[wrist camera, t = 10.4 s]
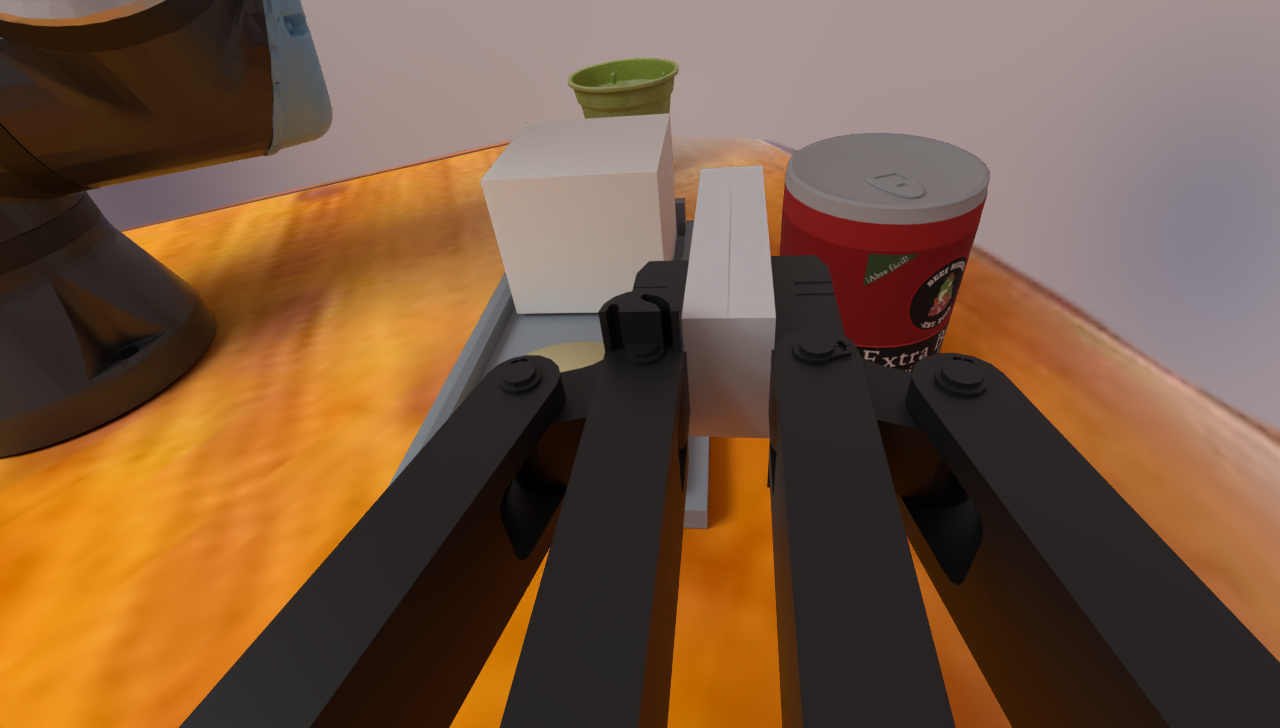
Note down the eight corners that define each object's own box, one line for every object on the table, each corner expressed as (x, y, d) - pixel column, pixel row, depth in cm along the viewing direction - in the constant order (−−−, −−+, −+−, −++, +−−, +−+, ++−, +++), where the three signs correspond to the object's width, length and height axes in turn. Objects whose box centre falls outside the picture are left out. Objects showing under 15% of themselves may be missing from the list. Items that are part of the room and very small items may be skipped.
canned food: (850, 450, 26) (895, 228, 19) (741, 359, 32) (745, 162, 25) (964, 384, 29) (1040, 167, 22) (844, 311, 34) (875, 119, 27)
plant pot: (566, 191, 52) (548, 87, 47) (605, 152, 59) (592, 58, 53) (666, 196, 49) (659, 86, 44) (694, 155, 56) (691, 55, 51)
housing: (667, 311, 33) (656, 171, 28) (516, 313, 35) (479, 180, 29) (677, 236, 40) (669, 113, 35) (551, 240, 41) (526, 122, 36)
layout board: (707, 528, 24) (705, 471, 22) (391, 516, 26) (359, 463, 24) (714, 244, 42) (713, 196, 40) (528, 249, 44) (518, 205, 42)
